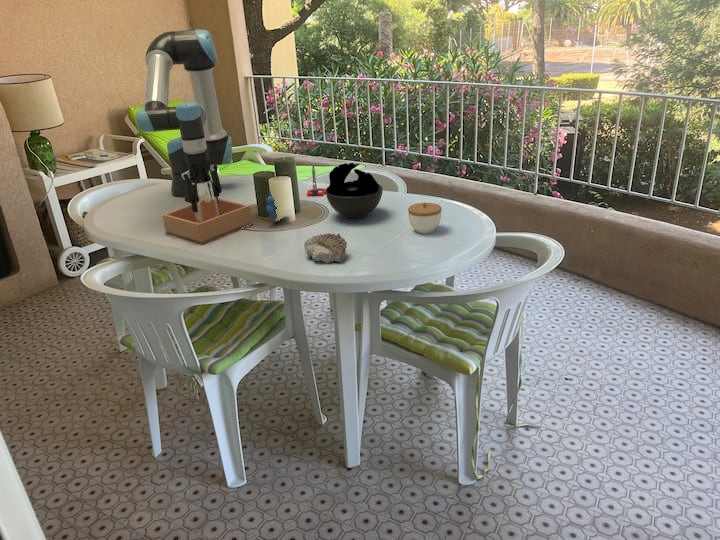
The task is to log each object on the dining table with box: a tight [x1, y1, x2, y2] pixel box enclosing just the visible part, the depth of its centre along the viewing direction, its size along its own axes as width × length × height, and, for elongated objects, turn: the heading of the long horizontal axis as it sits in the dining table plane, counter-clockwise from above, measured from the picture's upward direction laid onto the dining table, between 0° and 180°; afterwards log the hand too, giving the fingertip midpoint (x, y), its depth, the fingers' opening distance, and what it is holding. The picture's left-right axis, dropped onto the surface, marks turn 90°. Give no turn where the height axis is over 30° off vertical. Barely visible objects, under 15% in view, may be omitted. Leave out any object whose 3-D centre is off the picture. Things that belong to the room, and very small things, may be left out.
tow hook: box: [306, 163, 327, 197], centre depth 224 cm, size 8×13×9 cm
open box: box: [161, 198, 253, 246], centre depth 192 cm, size 22×20×7 cm
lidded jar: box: [407, 201, 443, 234], centre depth 179 cm, size 11×11×9 cm
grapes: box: [265, 191, 277, 221], centre depth 194 cm, size 12×7×12 cm, turn 160°
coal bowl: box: [325, 162, 384, 219], centre depth 194 cm, size 20×20×19 cm
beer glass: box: [192, 178, 216, 223], centre depth 190 cm, size 7×7×15 cm
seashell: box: [303, 233, 348, 264], centre depth 164 cm, size 14×9×10 cm
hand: (207, 217), depth 192 cm, fingers closed on beer glass, 6 cm apart
